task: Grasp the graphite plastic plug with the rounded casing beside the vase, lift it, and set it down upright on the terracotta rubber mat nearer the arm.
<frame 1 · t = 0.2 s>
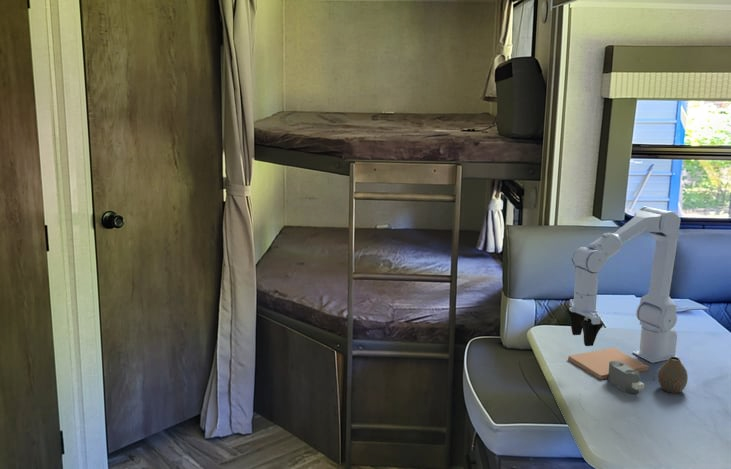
hand: (582, 340, 178), 10 cm above the table, fingers open, 7 cm apart
mat: (607, 364, 185), on the table
vase: (671, 390, 170), on the table
plug: (622, 385, 173), on the table
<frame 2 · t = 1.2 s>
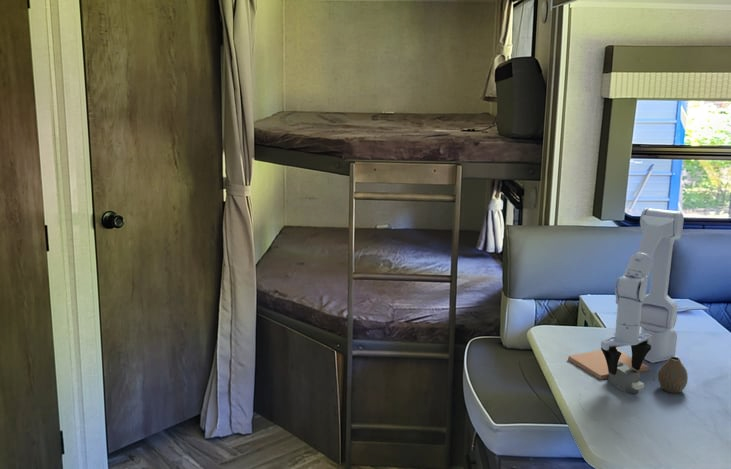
hand: (623, 371, 172), 4 cm above the table, fingers open, 7 cm apart
nothing on the table moved.
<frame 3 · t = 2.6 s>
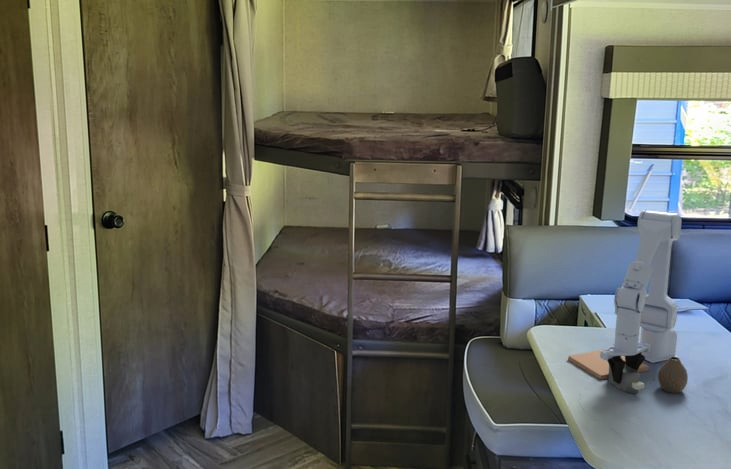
hand: (623, 380, 172), 1 cm above the table, fingers closed on plug, 4 cm apart
plug: (622, 385, 173), on the table, touching gripper
everything else where it was.
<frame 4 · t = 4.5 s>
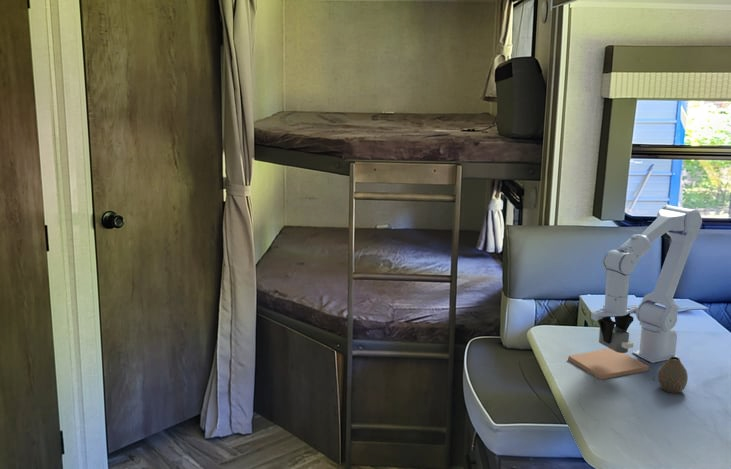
hand: (613, 341, 181), 8 cm above the table, fingers closed on plug, 4 cm apart
plug: (613, 346, 181), point 7 cm above the table, touching gripper
everything else where it was.
when the fingers open (4 cm above the table, at t = 6.3 s): plug drops 1 cm, resting on mat.
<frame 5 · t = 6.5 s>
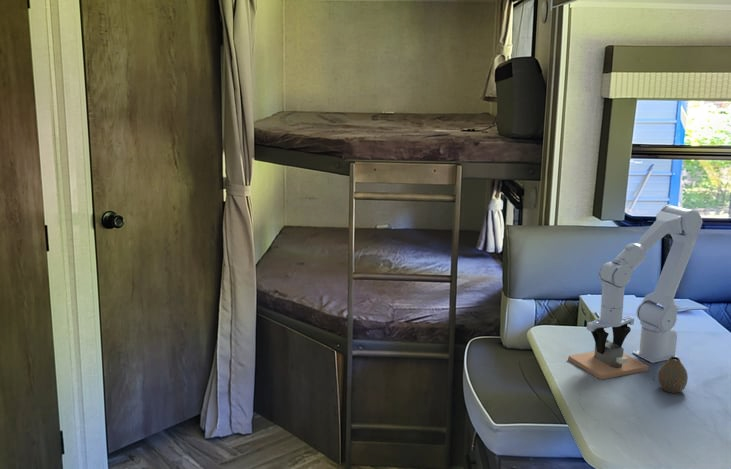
hand: (608, 351, 184), 4 cm above the table, fingers open, 5 cm apart
plug: (608, 361, 185), point 1 cm above the table, touching mat
everything else where it was.
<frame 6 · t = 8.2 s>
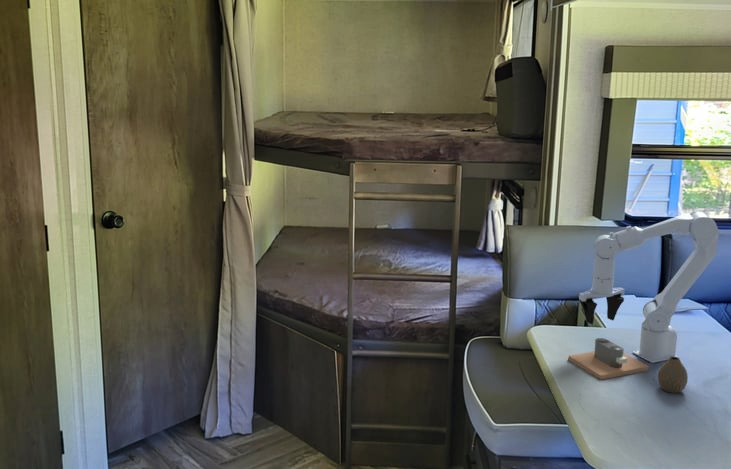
hand: (600, 321, 193), 9 cm above the table, fingers open, 7 cm apart
nothing on the table moved.
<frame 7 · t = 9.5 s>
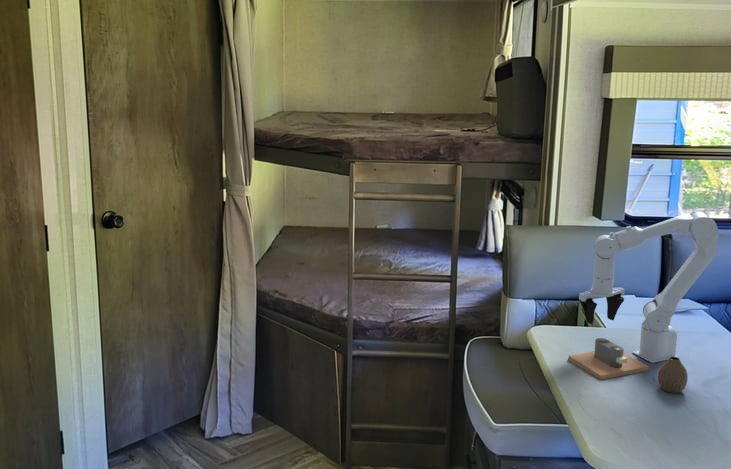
hand: (600, 321, 193), 9 cm above the table, fingers open, 7 cm apart
nothing on the table moved.
at the end: plug inside the target area on the mat (0.1 cm from its centre), point 1.2 cm above the mat's base; plug tilted 0°; the gripper is holding nothing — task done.
